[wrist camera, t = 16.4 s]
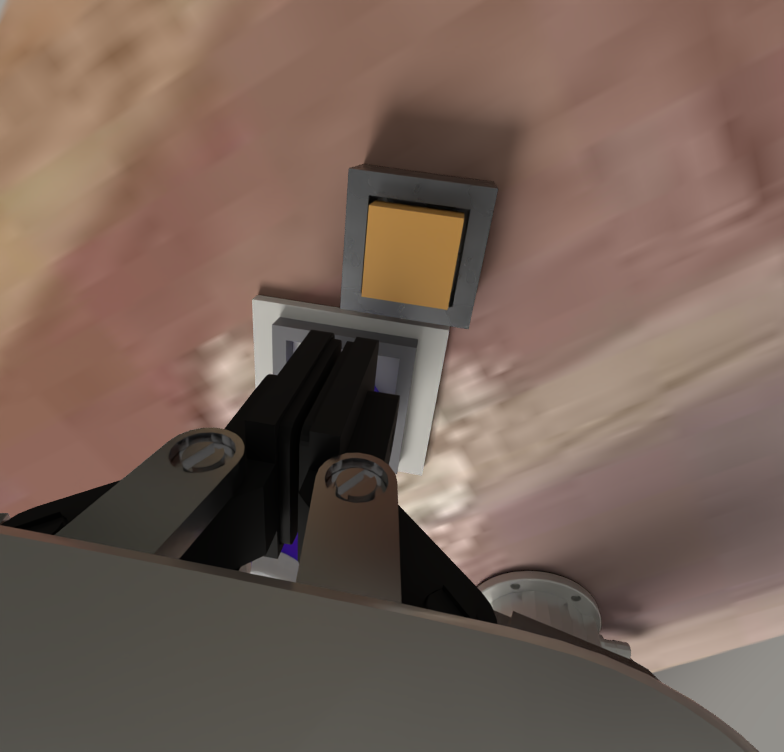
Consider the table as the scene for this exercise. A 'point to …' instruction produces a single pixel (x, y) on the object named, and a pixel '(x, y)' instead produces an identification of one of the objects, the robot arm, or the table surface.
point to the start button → (411, 254)
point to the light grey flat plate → (394, 365)
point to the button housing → (422, 192)
